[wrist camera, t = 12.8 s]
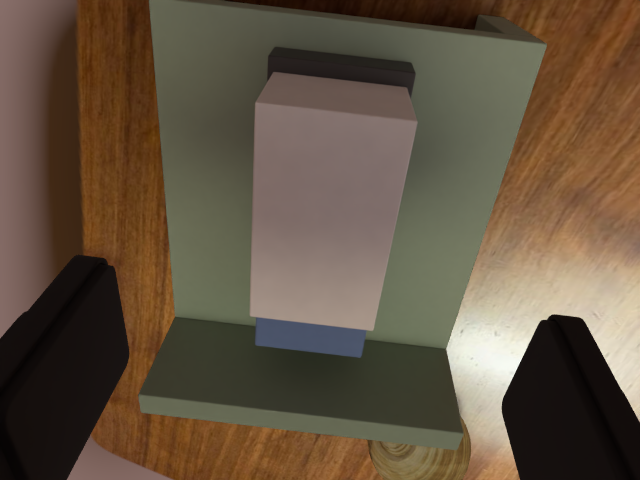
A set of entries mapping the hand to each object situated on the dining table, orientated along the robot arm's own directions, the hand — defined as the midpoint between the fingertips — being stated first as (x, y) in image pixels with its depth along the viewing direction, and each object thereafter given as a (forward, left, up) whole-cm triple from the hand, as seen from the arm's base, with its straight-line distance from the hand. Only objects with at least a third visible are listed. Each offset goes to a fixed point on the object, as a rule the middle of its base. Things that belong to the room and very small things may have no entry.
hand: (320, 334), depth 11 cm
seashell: (+23, +9, -17) cm, 30 cm away
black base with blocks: (+2, 0, -10) cm, 11 cm away
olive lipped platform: (+3, 0, -16) cm, 17 cm away
